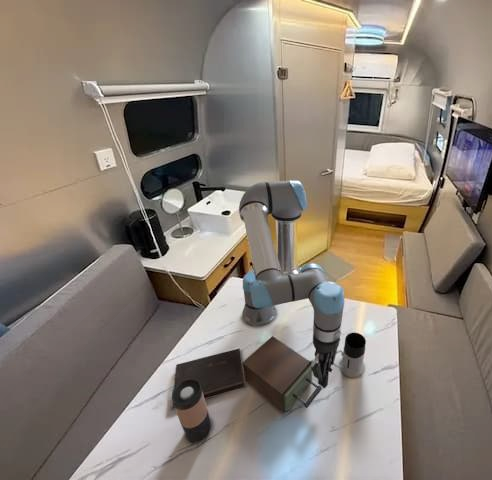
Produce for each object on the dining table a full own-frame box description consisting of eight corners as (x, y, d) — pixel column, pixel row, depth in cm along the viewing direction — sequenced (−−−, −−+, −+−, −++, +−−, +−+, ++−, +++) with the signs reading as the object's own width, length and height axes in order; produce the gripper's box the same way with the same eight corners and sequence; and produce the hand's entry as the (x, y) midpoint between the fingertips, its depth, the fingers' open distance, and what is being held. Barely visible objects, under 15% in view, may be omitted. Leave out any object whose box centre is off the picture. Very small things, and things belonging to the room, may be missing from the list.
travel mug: (211, 439, 84) (199, 400, 74) (184, 447, 82) (168, 408, 72) (212, 414, 90) (202, 375, 80) (187, 420, 88) (173, 382, 78)
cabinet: (310, 379, 102) (310, 361, 97) (282, 412, 91) (281, 394, 86) (273, 353, 111) (272, 335, 106) (245, 380, 100) (242, 362, 95)
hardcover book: (177, 368, 104) (176, 364, 103) (240, 351, 111) (239, 348, 110) (173, 409, 91) (172, 405, 90) (244, 387, 98) (244, 383, 97)
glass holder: (367, 370, 106) (372, 344, 98) (337, 388, 99) (340, 361, 92) (353, 354, 112) (357, 327, 105) (324, 369, 106) (326, 342, 98)
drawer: (325, 391, 97) (327, 376, 93) (301, 424, 87) (301, 409, 83) (276, 356, 109) (275, 341, 105) (250, 381, 99) (248, 366, 95)
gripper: (324, 356, 69) (320, 408, 81) (350, 325, 78) (343, 375, 90) (301, 341, 73) (300, 393, 85) (328, 313, 82) (324, 363, 94)
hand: (322, 384), depth 87 cm, fingers closed
